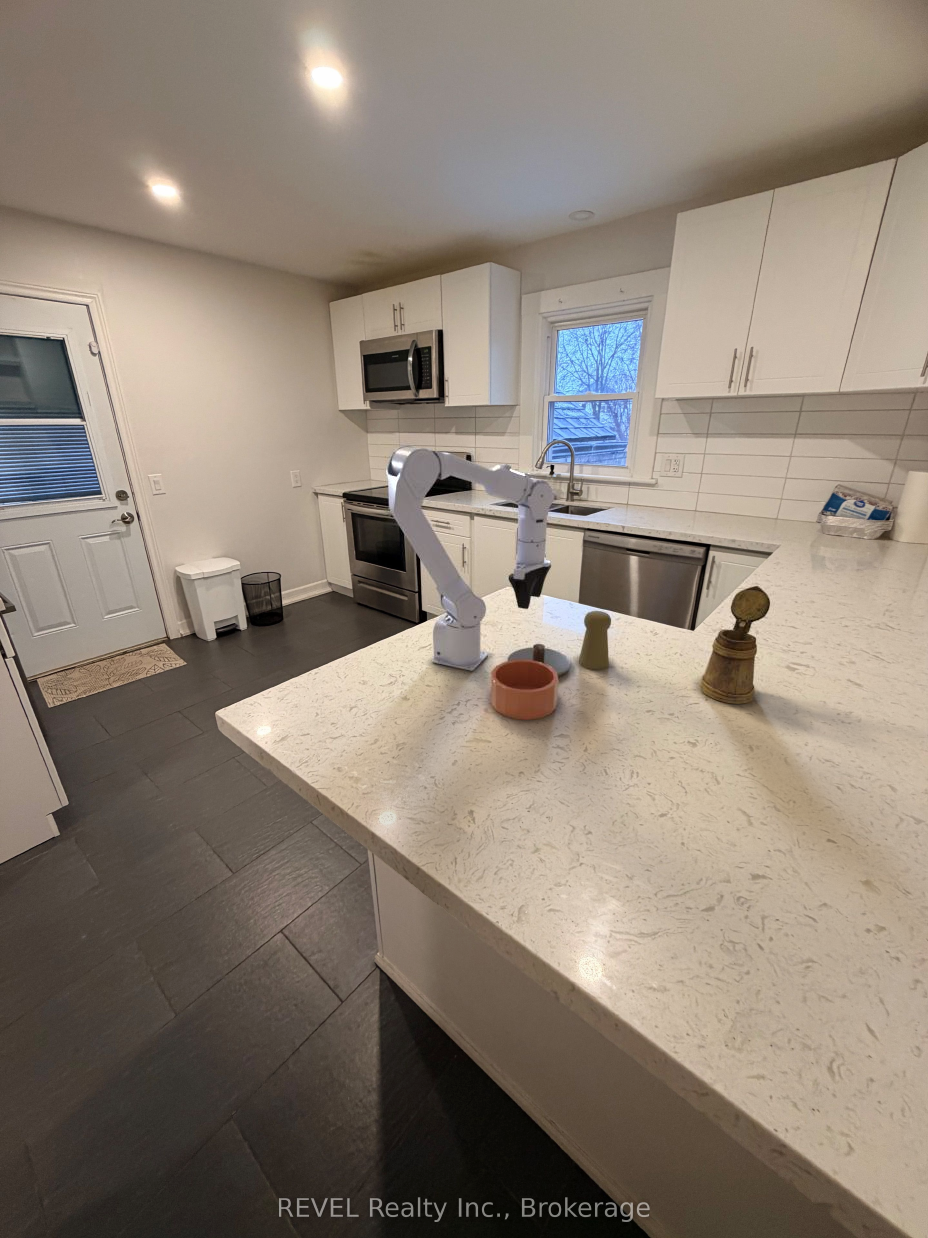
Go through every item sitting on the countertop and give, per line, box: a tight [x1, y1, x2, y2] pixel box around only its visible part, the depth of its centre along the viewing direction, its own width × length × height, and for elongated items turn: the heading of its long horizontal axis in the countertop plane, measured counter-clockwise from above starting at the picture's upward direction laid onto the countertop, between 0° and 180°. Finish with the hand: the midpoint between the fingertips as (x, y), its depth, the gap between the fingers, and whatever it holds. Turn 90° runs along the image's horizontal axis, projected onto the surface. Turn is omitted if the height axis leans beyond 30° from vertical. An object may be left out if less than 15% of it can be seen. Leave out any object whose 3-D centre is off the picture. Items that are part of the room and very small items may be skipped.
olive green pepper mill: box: [578, 610, 612, 670], centre depth 100 cm, size 6×6×11 cm
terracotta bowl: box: [490, 660, 559, 721], centre depth 88 cm, size 12×12×5 cm
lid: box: [506, 643, 571, 677], centre depth 100 cm, size 13×13×4 cm
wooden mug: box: [699, 585, 771, 705], centre depth 89 cm, size 9×14×18 cm, turn 140°
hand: (529, 601), depth 106 cm, fingers open, 7 cm apart
